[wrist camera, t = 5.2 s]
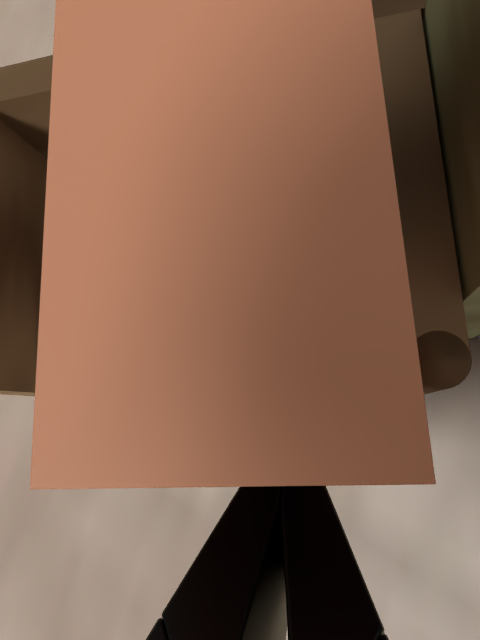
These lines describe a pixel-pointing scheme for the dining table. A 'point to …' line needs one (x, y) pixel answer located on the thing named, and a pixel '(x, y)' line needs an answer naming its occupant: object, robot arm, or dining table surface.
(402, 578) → the dining table surface
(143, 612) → the dining table surface
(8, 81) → the book rack
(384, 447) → the book
